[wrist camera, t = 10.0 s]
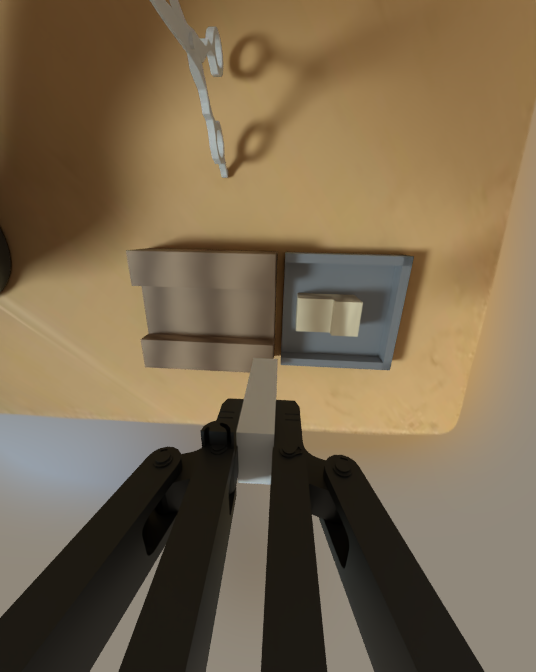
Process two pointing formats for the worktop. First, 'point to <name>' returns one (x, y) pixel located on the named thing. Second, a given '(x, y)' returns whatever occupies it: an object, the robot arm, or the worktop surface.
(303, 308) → the cream square block
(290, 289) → the tray
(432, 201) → the worktop surface
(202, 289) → the slot board
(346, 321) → the chip
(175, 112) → the worktop surface
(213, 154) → the scissors
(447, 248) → the worktop surface
